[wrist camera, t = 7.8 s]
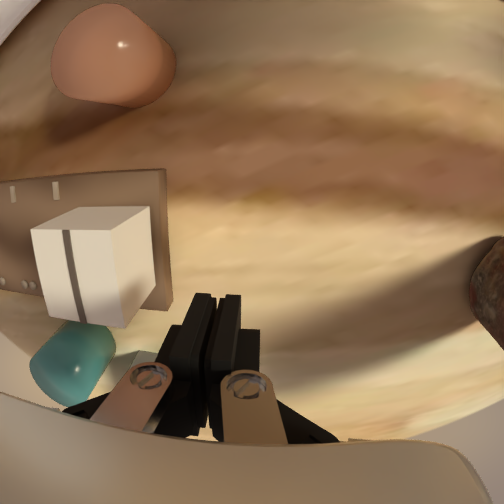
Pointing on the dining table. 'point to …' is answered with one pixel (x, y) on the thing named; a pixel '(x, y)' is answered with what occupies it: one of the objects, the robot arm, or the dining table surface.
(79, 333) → the teal rounded cylinder
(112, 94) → the peach domed cylinder
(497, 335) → the candle
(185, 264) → the dining table surface
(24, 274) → the rail
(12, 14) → the plate
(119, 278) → the slider
